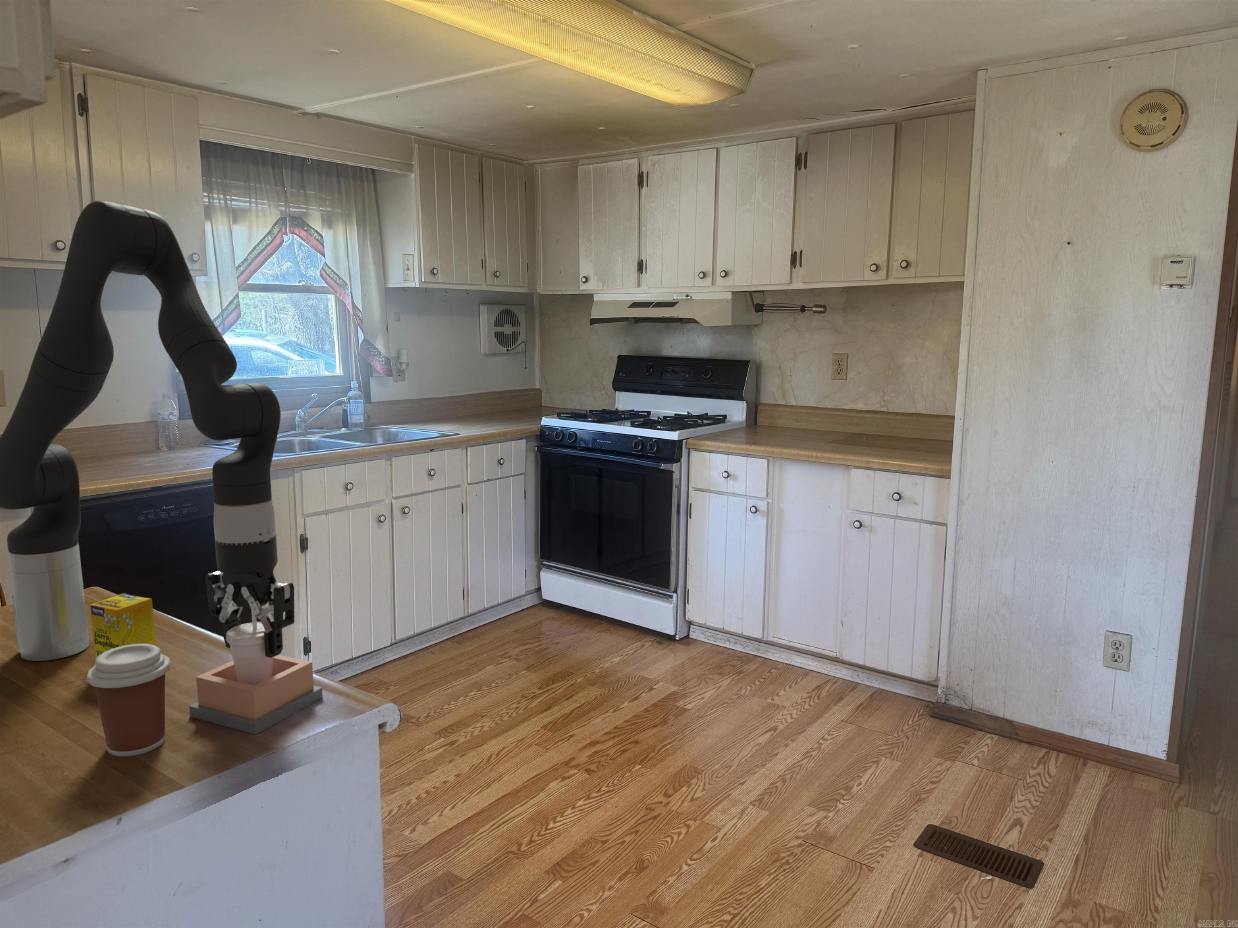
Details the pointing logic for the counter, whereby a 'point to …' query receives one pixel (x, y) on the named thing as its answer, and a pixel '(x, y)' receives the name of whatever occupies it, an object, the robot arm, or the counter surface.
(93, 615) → the supplement box
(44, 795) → the counter surface
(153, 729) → the coffee cup
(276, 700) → the socket
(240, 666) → the smoothie
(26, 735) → the counter surface
